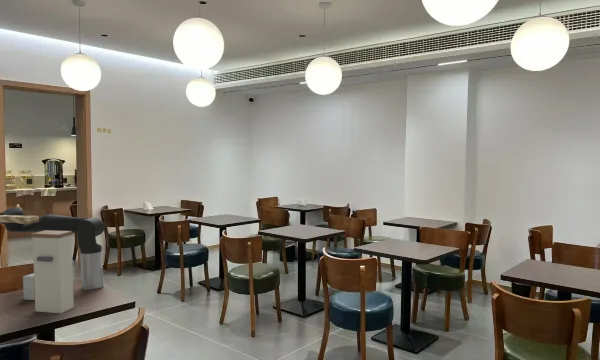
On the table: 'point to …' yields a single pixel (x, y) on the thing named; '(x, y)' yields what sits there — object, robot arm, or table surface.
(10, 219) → the tan wooden plank
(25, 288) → the small box
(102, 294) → the table surface
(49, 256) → the white tall carton
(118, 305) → the table surface
